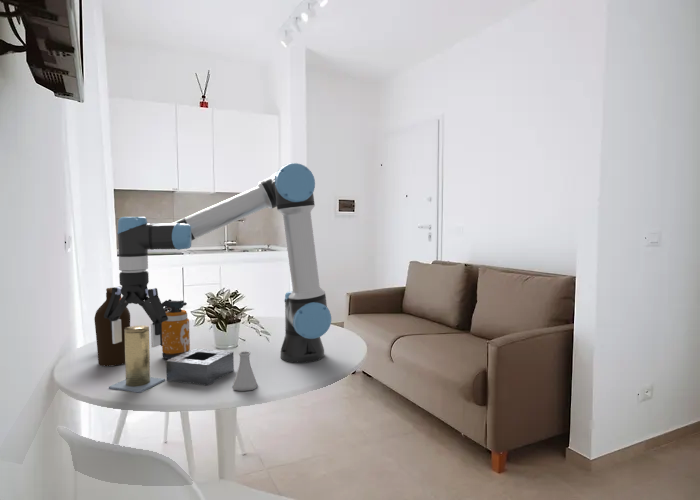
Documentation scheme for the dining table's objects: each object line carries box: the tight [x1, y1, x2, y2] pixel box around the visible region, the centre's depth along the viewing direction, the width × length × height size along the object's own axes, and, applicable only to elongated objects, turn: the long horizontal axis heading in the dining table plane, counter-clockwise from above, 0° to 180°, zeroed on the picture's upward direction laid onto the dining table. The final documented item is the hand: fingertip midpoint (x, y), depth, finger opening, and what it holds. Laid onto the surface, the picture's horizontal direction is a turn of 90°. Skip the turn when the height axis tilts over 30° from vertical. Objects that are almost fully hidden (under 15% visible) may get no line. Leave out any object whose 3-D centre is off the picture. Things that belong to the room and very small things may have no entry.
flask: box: [232, 350, 259, 392], centre depth 130 cm, size 7×7×10 cm
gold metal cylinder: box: [124, 325, 151, 387], centre depth 132 cm, size 6×6×16 cm
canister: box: [159, 298, 191, 360], centre depth 159 cm, size 9×11×20 cm
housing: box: [165, 347, 235, 386], centre depth 140 cm, size 14×14×6 cm
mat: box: [108, 376, 166, 393], centre depth 133 cm, size 11×10×1 cm
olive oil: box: [93, 287, 131, 367], centre depth 153 cm, size 11×11×25 cm
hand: (136, 344), depth 132 cm, fingers open, 13 cm apart
